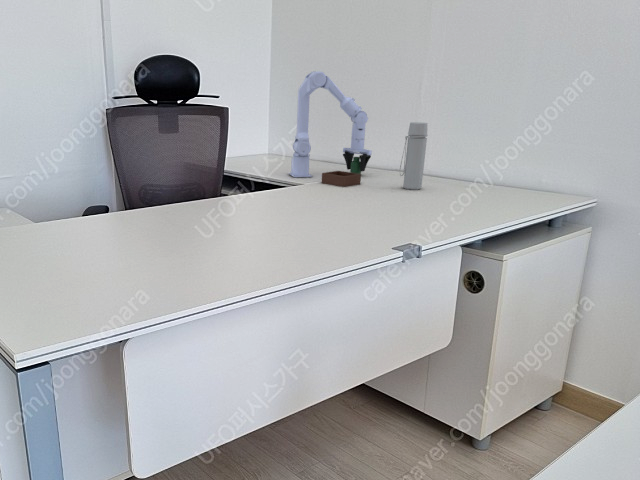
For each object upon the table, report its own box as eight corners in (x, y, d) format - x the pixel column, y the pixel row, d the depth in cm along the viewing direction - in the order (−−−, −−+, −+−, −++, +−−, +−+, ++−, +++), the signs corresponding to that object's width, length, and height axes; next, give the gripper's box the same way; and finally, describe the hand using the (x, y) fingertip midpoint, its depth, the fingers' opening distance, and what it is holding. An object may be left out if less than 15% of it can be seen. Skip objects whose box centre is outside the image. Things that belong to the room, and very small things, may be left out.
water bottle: (419, 187, 238) (426, 122, 229) (423, 190, 231) (430, 123, 222) (396, 186, 239) (402, 122, 230) (399, 190, 232) (405, 123, 223)
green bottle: (348, 174, 268) (349, 156, 265) (358, 174, 269) (359, 156, 266) (352, 176, 264) (353, 157, 261) (362, 175, 265) (363, 157, 262)
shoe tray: (321, 182, 247) (322, 173, 245) (337, 180, 253) (338, 170, 252) (344, 186, 238) (344, 176, 237) (360, 184, 244) (361, 174, 243)
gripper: (376, 139, 258) (374, 171, 263) (350, 137, 269) (348, 167, 273) (366, 140, 254) (364, 172, 259) (340, 138, 264) (338, 169, 269)
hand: (355, 170), depth 266 cm, fingers open, 7 cm apart
